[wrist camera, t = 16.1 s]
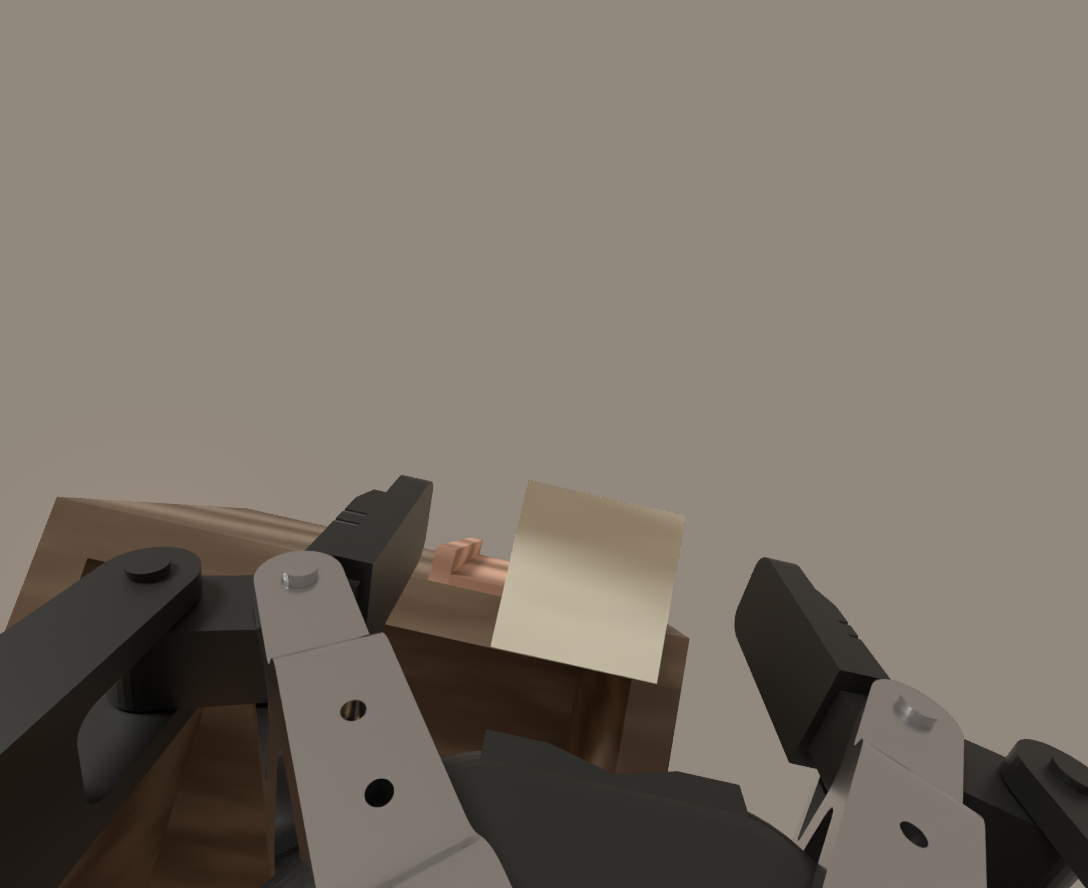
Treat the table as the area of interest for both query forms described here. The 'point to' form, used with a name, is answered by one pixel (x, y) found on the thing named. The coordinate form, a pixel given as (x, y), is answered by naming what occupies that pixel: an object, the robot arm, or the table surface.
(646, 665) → the cream long bar
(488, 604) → the brown wooden box
